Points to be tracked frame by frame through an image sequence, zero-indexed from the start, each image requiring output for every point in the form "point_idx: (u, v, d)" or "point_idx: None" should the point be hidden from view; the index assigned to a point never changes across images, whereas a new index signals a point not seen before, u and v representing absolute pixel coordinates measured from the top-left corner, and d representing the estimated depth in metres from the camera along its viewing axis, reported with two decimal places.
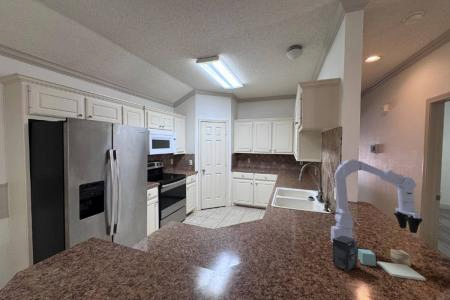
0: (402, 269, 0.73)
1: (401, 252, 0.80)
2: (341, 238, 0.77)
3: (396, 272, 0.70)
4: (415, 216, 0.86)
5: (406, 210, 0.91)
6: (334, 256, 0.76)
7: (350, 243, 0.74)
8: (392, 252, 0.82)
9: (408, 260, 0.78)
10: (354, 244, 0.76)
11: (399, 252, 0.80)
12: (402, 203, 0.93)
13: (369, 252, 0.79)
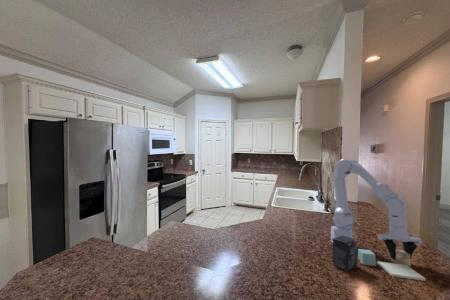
0: (402, 269, 0.73)
1: (401, 252, 0.80)
2: (341, 238, 0.77)
3: (396, 272, 0.70)
4: (378, 237, 0.83)
5: None
6: (334, 256, 0.76)
7: (350, 243, 0.74)
8: None
9: (408, 260, 0.78)
10: (354, 244, 0.76)
11: (399, 252, 0.80)
12: None
13: (369, 252, 0.79)
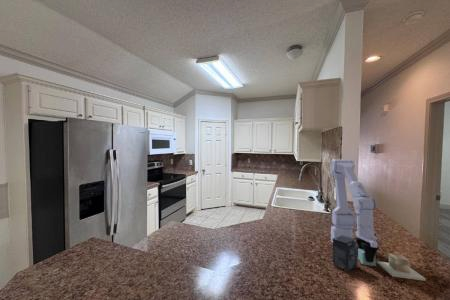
0: None
1: (400, 257, 0.73)
2: (341, 238, 0.77)
3: (396, 272, 0.70)
4: (372, 245, 0.74)
5: (364, 236, 0.78)
6: (334, 256, 0.76)
7: (350, 243, 0.74)
8: (390, 257, 0.75)
9: (408, 266, 0.71)
10: (354, 244, 0.76)
11: (398, 257, 0.73)
12: (360, 227, 0.80)
13: None
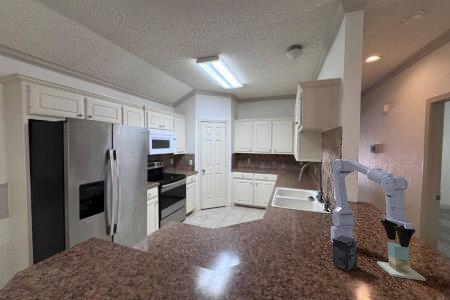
0: None
1: None
2: (341, 238, 0.77)
3: (396, 272, 0.70)
4: (406, 226, 0.68)
5: (395, 218, 0.73)
6: (334, 256, 0.76)
7: (350, 243, 0.74)
8: (390, 257, 0.75)
9: (408, 266, 0.71)
10: (354, 244, 0.76)
11: None
12: (390, 209, 0.74)
13: None
